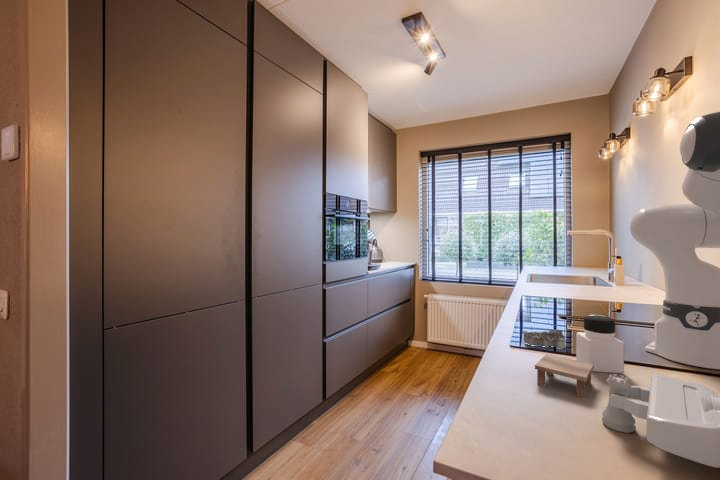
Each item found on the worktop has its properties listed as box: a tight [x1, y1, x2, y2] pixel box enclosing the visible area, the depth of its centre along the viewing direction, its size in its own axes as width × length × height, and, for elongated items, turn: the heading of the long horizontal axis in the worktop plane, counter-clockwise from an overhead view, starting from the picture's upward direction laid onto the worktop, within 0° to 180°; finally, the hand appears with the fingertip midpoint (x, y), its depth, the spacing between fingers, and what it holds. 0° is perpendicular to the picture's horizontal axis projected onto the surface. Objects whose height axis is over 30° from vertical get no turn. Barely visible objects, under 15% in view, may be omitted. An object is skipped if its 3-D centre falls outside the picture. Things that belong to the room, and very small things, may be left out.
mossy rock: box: [522, 329, 567, 350], centre depth 96 cm, size 11×8×4 cm
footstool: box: [534, 353, 594, 398], centre depth 70 cm, size 9×9×4 cm
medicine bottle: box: [575, 314, 625, 375], centre depth 79 cm, size 7×7×12 cm
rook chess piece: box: [601, 373, 637, 434], centre depth 54 cm, size 4×4×8 cm
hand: (611, 393), depth 55 cm, fingers closed on rook chess piece, 3 cm apart
